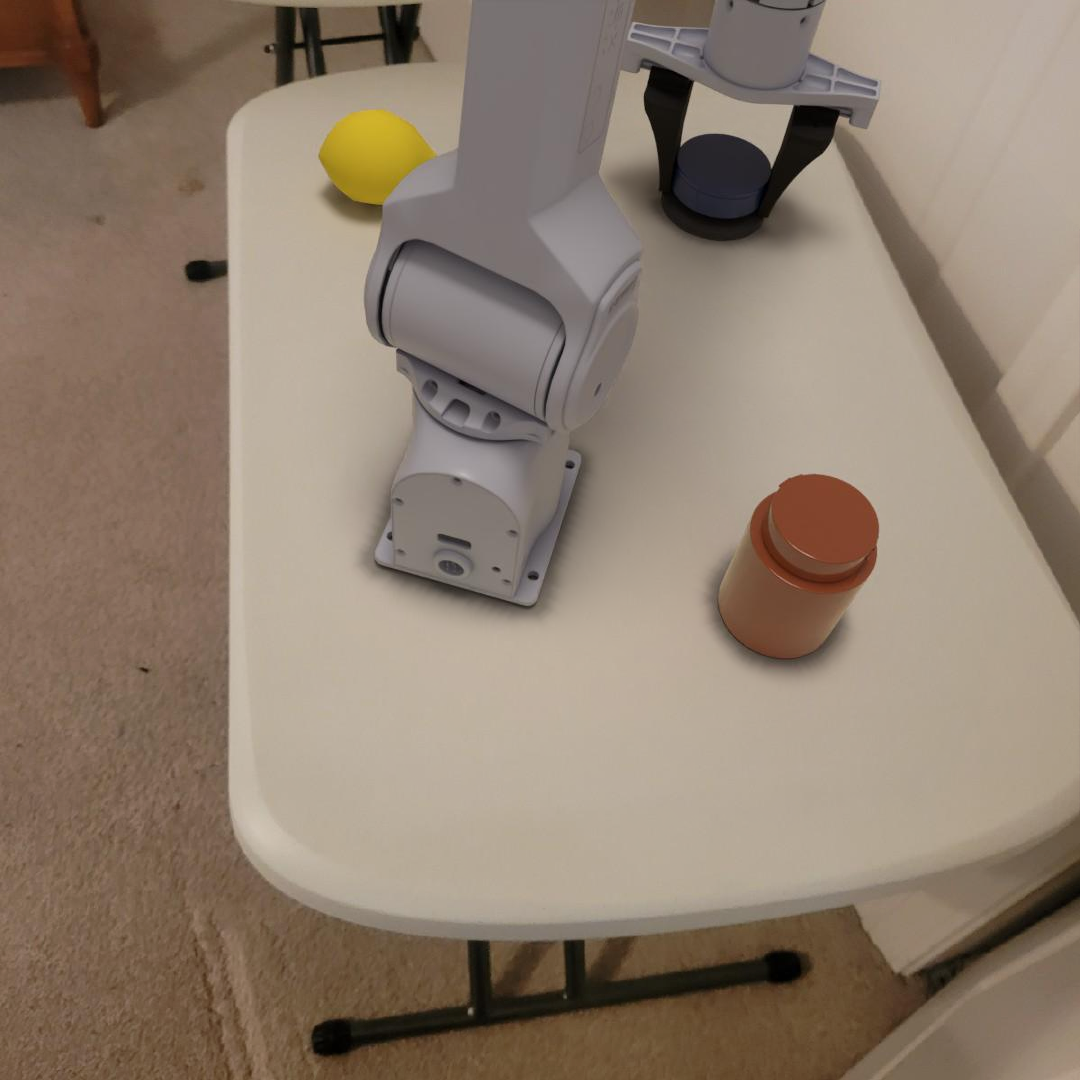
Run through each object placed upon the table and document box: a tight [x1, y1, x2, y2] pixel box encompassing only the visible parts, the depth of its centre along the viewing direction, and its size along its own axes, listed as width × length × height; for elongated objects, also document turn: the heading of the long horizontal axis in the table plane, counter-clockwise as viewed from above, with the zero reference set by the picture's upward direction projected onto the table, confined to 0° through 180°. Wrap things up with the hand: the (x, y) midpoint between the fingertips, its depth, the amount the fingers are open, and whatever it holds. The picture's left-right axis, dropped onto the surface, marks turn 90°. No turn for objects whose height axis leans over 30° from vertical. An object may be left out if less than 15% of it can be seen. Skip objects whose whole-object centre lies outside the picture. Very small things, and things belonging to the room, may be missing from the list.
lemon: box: [318, 108, 438, 206], centre depth 61 cm, size 7×5×5 cm
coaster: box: [660, 185, 765, 241], centre depth 65 cm, size 7×7×1 cm
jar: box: [717, 473, 880, 659], centre depth 46 cm, size 6×6×8 cm
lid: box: [671, 133, 772, 219], centre depth 64 cm, size 6×6×2 cm
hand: (715, 195), depth 65 cm, fingers closed on lid, 6 cm apart
